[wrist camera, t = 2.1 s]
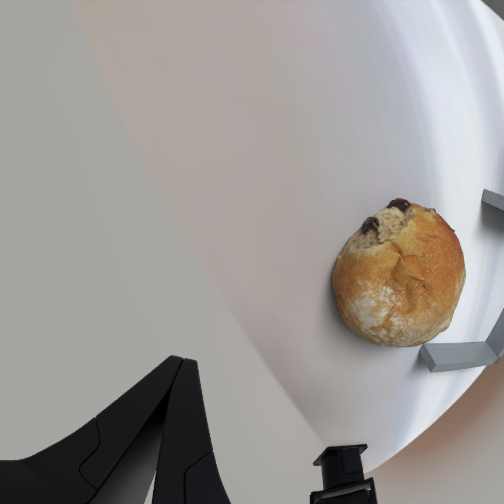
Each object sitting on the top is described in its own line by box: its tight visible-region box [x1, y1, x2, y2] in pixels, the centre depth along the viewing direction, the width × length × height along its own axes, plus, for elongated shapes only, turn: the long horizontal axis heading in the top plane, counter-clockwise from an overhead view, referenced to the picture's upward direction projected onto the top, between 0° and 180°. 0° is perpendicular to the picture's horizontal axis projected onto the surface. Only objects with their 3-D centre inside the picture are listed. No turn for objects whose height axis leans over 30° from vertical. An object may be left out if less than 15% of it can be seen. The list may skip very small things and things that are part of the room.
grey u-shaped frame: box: [419, 189, 504, 372], centre depth 17 cm, size 16×12×3 cm
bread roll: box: [332, 198, 466, 347], centre depth 16 cm, size 10×10×8 cm
